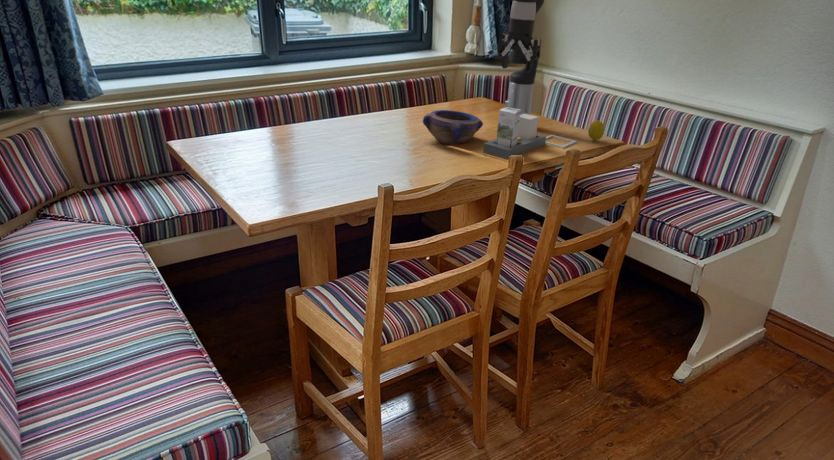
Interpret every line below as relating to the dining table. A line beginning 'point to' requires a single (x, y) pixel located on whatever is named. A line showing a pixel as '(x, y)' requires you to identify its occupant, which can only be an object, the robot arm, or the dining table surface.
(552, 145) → the tray
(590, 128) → the lemon
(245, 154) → the dining table surface
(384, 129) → the dining table surface
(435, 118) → the bowl
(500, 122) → the syrup box
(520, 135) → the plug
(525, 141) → the socket strip
